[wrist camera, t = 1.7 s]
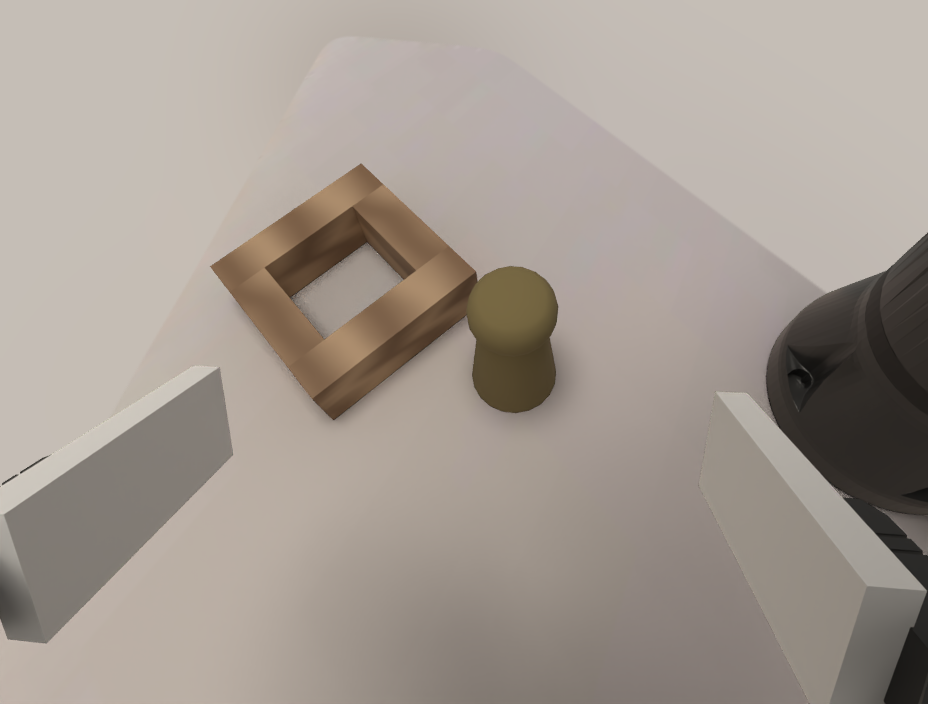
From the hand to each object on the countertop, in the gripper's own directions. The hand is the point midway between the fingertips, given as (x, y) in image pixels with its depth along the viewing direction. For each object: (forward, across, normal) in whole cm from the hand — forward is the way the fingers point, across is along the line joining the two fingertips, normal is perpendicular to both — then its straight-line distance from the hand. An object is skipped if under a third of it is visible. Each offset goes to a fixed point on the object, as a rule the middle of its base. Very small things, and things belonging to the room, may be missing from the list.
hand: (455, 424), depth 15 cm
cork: (+24, +1, -8) cm, 25 cm away
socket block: (+28, -12, -4) cm, 31 cm away
